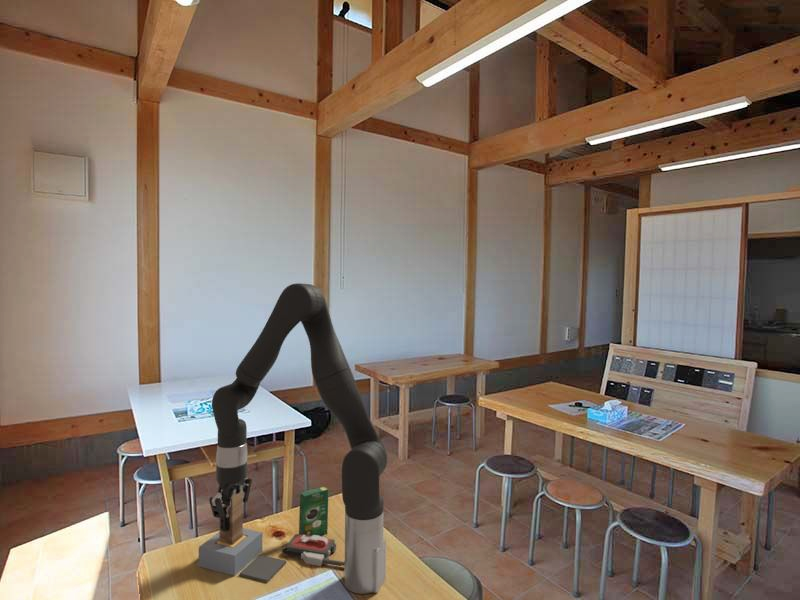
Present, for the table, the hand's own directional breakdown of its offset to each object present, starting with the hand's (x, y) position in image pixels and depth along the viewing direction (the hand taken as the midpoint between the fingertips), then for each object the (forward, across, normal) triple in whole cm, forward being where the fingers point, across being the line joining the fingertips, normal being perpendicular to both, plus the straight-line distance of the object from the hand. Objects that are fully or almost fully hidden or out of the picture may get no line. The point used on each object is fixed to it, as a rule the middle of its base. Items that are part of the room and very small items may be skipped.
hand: (231, 525), depth 113 cm
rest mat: (+9, -1, -11) cm, 14 cm away
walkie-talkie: (+9, +9, -21) cm, 25 cm away
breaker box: (+9, 0, 0) cm, 9 cm away
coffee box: (+9, +16, -15) cm, 24 cm away
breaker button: (+8, 0, 0) cm, 8 cm away
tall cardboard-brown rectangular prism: (+3, 0, 0) cm, 3 cm away
